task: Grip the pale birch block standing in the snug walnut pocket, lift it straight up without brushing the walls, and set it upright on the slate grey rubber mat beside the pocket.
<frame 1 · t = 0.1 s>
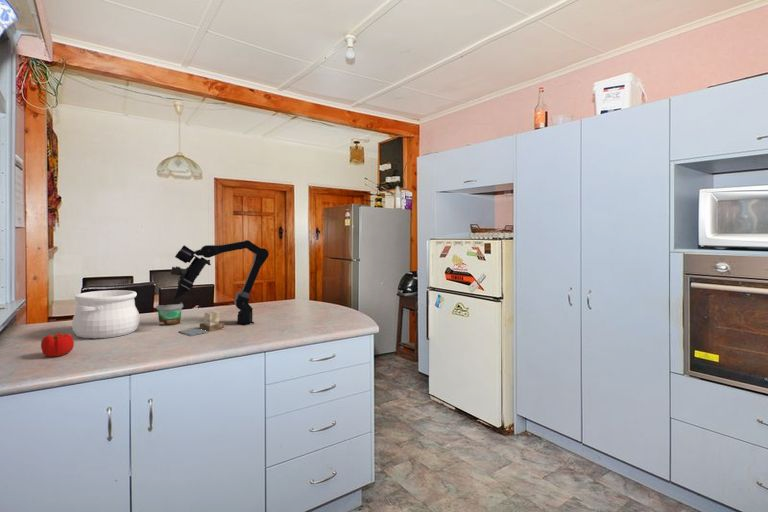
hand: (175, 297, 186), 15 cm above the worktop, tool tilted 35°, fingers open, 9 cm apart
walnut pocket: (211, 329, 188), on the worktop
slate mat: (193, 332, 181), on the worktop
pot: (107, 333, 177), on the worktop
tomato: (57, 355, 145), on the worktop
food container: (172, 324, 195), on the worktop
birch block: (211, 320, 188), in the walnut pocket
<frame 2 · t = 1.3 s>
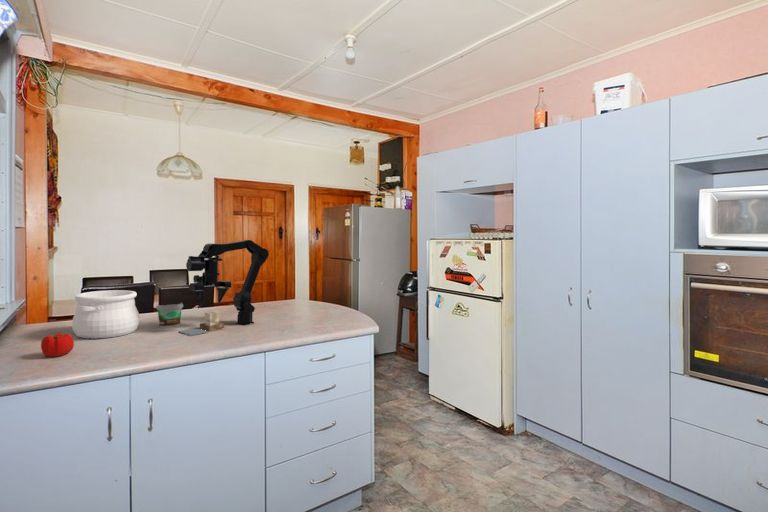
hand: (210, 303, 188), 12 cm above the worktop, tool pointing down, fingers open, 9 cm apart
nothing on the worktop moved.
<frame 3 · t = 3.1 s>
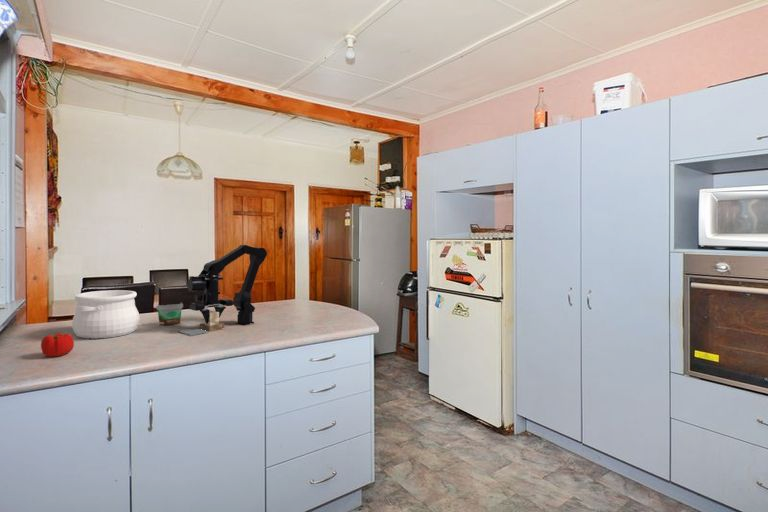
hand: (211, 322, 188), 3 cm above the worktop, tool pointing down, fingers closed on birch block, 4 cm apart
birch block: (211, 320, 188), in the walnut pocket, touching gripper
everything else where it was.
when the fingers open (5 cm above the worktop, at t = 7.8 s): birch block drops 1 cm, resting on slate mat.
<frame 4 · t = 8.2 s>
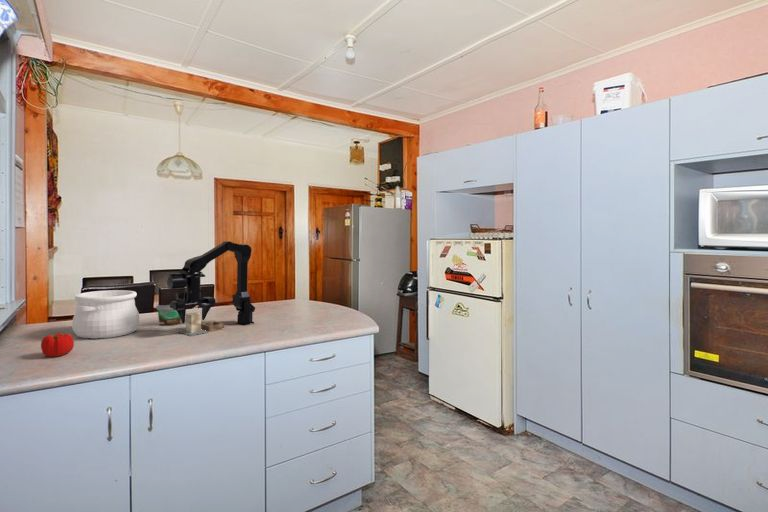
hand: (193, 321, 181), 5 cm above the worktop, tool pointing down, fingers open, 9 cm apart
birch block: (193, 322, 181), on the slate mat, point 5 cm above the worktop
everything else where it was.
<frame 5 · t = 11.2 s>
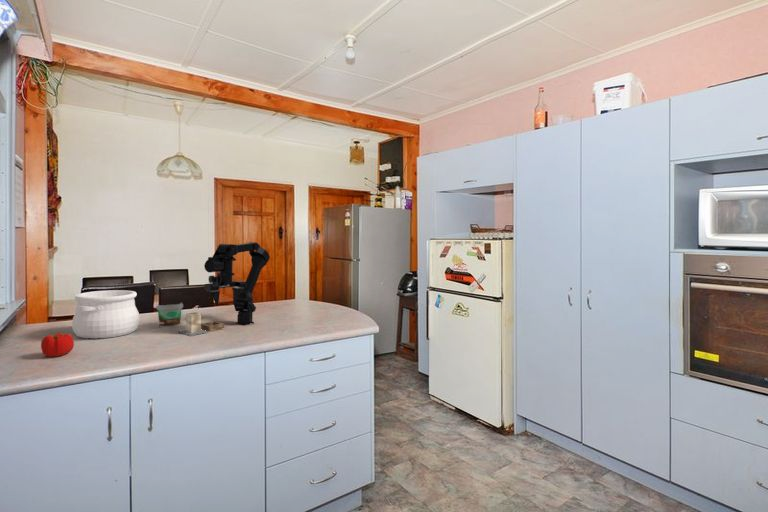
hand: (225, 303, 188), 12 cm above the worktop, tool pointing down, fingers open, 9 cm apart
nothing on the worktop moved.
at the end: birch block inside the target area (0.1 cm from its centre), point 4.6 cm above the worktop; birch block tilted 0°; the gripper is holding nothing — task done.
